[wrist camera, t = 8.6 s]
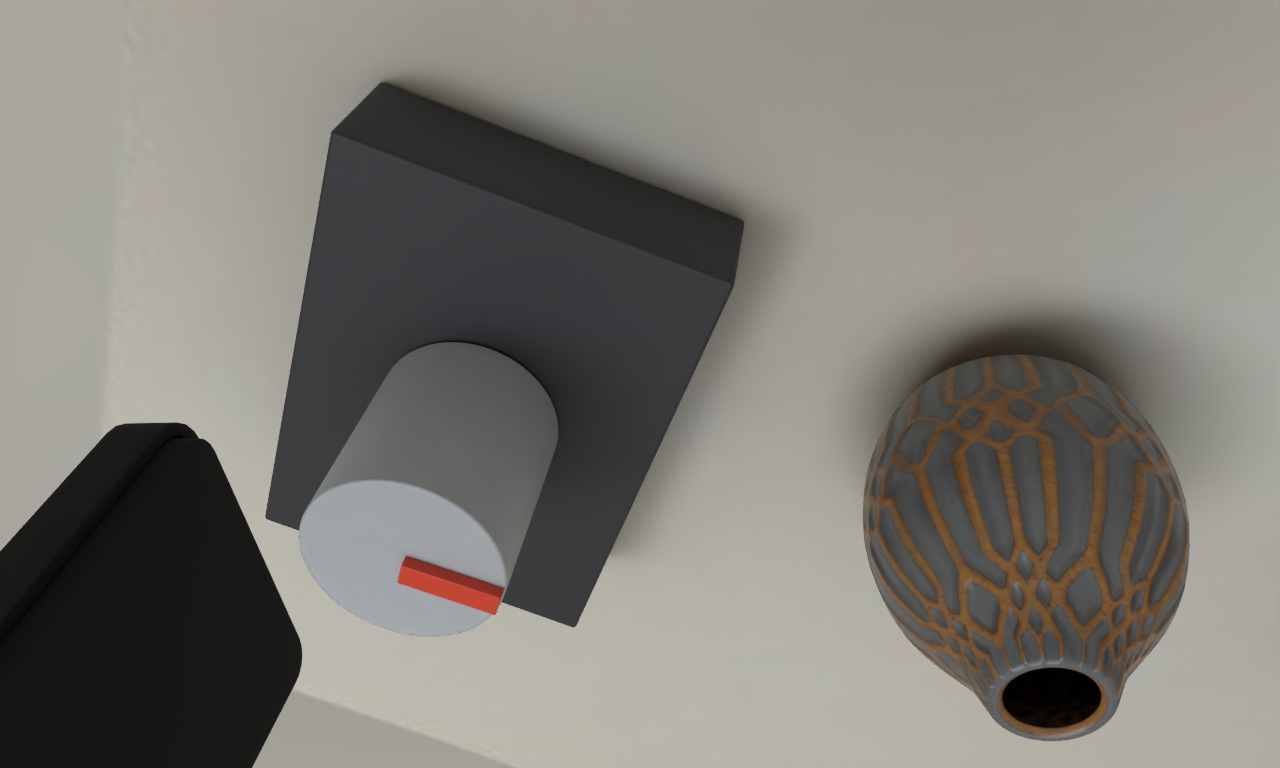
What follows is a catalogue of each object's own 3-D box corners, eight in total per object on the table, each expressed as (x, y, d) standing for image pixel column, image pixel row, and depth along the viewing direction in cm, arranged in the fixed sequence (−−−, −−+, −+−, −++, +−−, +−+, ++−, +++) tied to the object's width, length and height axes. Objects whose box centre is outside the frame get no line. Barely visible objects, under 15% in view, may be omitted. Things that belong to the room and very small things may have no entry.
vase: (825, 352, 27) (818, 611, 20) (1116, 273, 25) (1224, 536, 18) (904, 547, 30) (921, 829, 23) (1167, 495, 28) (1276, 791, 21)
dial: (369, 453, 27) (281, 608, 23) (397, 315, 25) (303, 461, 20) (535, 508, 28) (478, 672, 23) (579, 378, 25) (524, 535, 21)
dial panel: (380, 79, 25) (330, 130, 22) (745, 220, 25) (735, 284, 23) (307, 450, 32) (263, 519, 29) (594, 553, 32) (574, 629, 30)
